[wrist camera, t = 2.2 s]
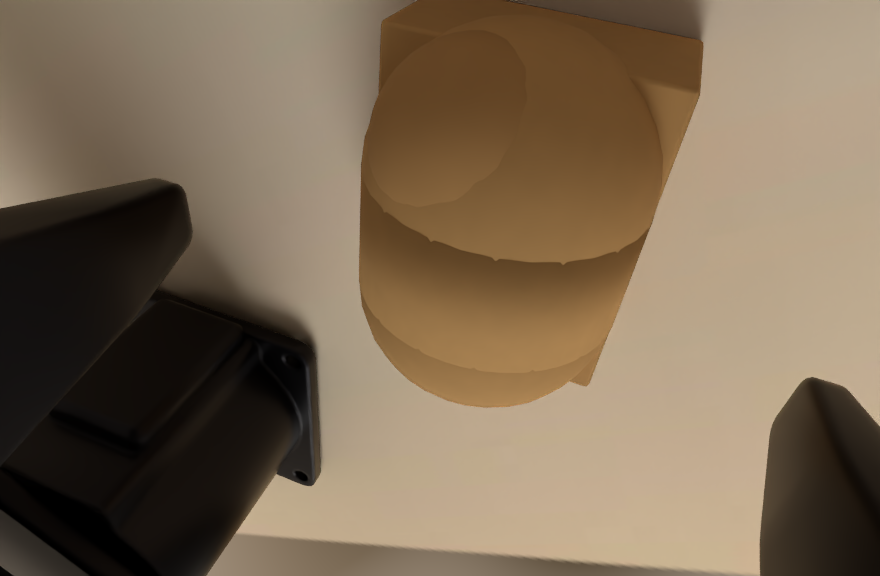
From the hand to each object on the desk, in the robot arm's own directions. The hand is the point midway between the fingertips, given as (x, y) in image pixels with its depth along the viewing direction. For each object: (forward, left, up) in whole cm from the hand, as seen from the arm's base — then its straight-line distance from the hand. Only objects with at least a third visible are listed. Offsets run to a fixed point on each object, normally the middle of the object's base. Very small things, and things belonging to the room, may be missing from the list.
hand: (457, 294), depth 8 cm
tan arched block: (0, 0, -4) cm, 4 cm away
